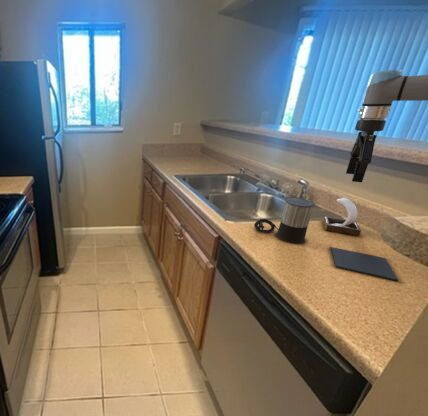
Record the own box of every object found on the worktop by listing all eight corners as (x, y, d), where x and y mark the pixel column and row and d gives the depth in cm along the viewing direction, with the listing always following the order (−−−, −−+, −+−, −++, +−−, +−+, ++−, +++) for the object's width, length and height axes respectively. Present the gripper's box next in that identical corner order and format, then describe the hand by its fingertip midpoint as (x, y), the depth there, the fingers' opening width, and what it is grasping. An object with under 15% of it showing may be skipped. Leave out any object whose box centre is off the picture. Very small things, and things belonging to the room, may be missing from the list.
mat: (384, 259, 90) (385, 257, 90) (397, 281, 79) (398, 279, 79) (330, 248, 97) (331, 247, 97) (335, 267, 86) (336, 265, 86)
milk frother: (310, 244, 100) (321, 206, 94) (263, 241, 102) (271, 204, 97) (291, 228, 113) (300, 193, 107) (250, 225, 115) (257, 192, 110)
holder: (354, 226, 113) (356, 221, 112) (358, 236, 105) (360, 230, 104) (323, 221, 118) (325, 216, 117) (325, 230, 110) (327, 224, 109)
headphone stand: (335, 224, 115) (344, 197, 111) (352, 230, 110) (361, 202, 105) (328, 226, 113) (336, 199, 109) (344, 232, 108) (354, 204, 104)
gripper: (351, 117, 108) (336, 170, 116) (365, 121, 89) (345, 184, 96) (377, 117, 105) (359, 171, 112) (397, 121, 85) (374, 187, 93)
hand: (353, 177), depth 104 cm, fingers open, 13 cm apart
